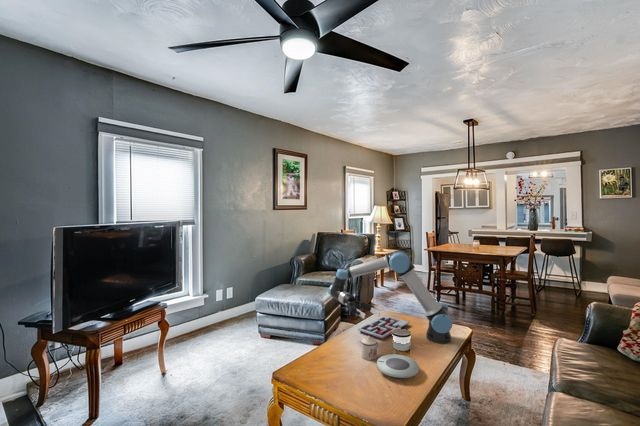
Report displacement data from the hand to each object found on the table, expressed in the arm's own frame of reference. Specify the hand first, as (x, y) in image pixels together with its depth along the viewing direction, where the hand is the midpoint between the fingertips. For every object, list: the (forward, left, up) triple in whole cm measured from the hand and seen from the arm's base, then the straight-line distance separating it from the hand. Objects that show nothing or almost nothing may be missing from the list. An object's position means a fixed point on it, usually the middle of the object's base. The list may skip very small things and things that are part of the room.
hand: (372, 315), depth 179 cm
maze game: (-2, -39, -23) cm, 45 cm away
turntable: (-15, +16, -20) cm, 30 cm away
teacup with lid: (+1, +3, -23) cm, 23 cm away
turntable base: (-15, +16, -22) cm, 31 cm away
